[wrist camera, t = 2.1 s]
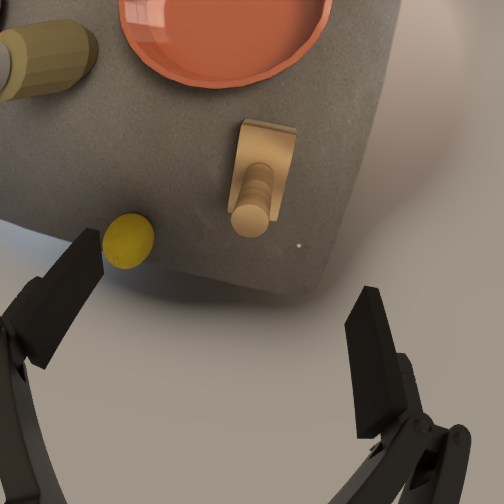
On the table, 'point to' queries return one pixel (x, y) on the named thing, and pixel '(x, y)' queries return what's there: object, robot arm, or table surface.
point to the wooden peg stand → (259, 175)
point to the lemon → (128, 241)
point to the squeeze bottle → (44, 58)
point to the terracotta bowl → (222, 37)
